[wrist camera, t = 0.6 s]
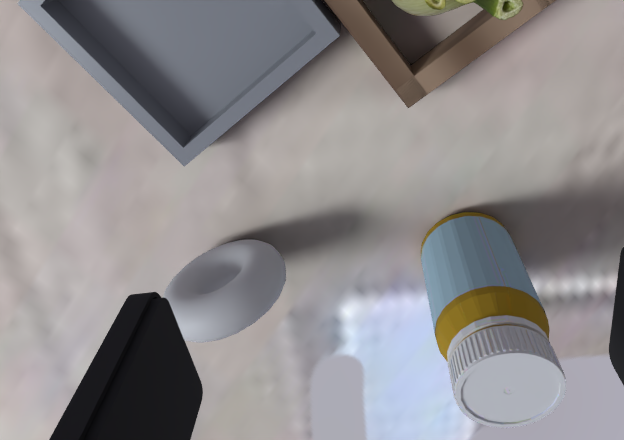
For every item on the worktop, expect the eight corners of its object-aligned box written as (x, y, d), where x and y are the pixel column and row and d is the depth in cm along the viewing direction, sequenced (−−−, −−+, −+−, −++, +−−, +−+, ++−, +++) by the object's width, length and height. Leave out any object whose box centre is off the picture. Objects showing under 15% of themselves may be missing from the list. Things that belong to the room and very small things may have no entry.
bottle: (424, 206, 42) (455, 343, 29) (516, 209, 42) (589, 349, 29) (415, 279, 46) (440, 429, 33) (501, 282, 45) (559, 435, 32)
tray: (184, -175, 31) (169, -181, 28) (340, 25, 36) (339, 35, 33) (41, -5, 36) (17, 3, 33) (195, 149, 41) (184, 166, 38)
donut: (282, 216, 43) (264, 295, 35) (299, 250, 45) (286, 333, 36) (173, 251, 46) (132, 333, 37) (193, 282, 47) (158, 367, 39)
